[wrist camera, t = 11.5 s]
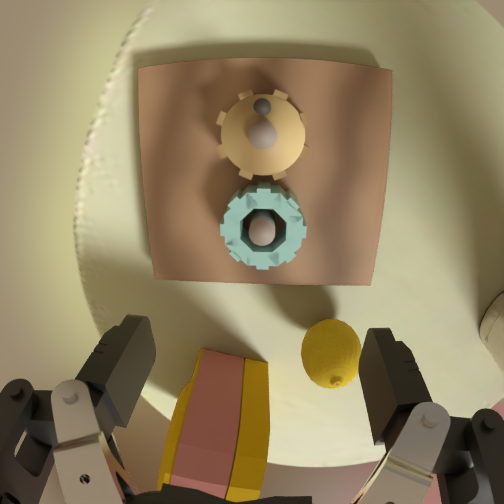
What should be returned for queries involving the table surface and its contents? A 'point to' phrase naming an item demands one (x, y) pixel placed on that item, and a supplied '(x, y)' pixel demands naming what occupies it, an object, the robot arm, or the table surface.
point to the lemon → (331, 353)
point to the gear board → (312, 180)
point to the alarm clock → (220, 429)
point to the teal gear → (282, 242)
